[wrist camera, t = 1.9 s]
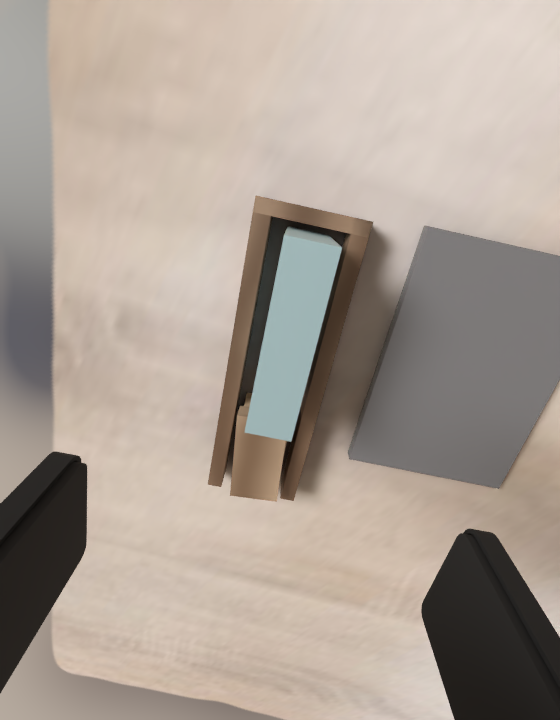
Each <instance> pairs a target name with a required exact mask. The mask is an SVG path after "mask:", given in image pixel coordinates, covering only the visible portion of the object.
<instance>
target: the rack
mask: <svg viewBox="0 0 560 720" xmlns="http://www.w3.org/2000/svg"><path fill="white" fill-rule="evenodd" d="M273 217H278V218H282V219H287V220H291V221H296V222H300V223H305V224H309V225H314V226H318V227H322V228H327V229H331V230H336V231H340V232H345V233H346V235H345V239H344V243H343V246H342V250H341V254H340V258H339V262H338V265H337V269H336V273H335V277H334V281H333V285H332V288H331V292H330V296H329V300H328V304H327V307H326V311H325V315H324V319H323V323H322V327H321V330H320V334H319V338H318V342H317V346H316V349H315V353H314V357H313V361H312V365H311V369H310V372H309V376H308V380H307V384H306V388H305V391H304V395H303V399H302V403H301V407H300V410H299V414H298V418H297V422H296V426H295V430H294V433H293V437H292V441H291V445H290V449H289V452H288V456H287V460H286V464H285V468H284V472H283V475H282V479H281V496H280V498H281V499H287V500H292V501H294V497H295V494H296V490H297V487H298V483H299V480H300V476H301V473H302V469H303V466H304V462H305V459H306V455H307V452H308V448H309V445H310V441H311V438H312V434H313V431H314V427H315V424H316V420H317V417H318V413H319V410H320V406H321V403H322V399H323V396H324V392H325V389H326V385H327V382H328V378H329V375H330V371H331V368H332V364H333V361H334V357H335V354H336V350H337V347H338V343H339V340H340V336H341V333H342V329H343V326H344V322H345V319H346V315H347V312H348V308H349V305H350V301H351V298H352V294H353V291H354V287H355V284H356V280H357V277H358V273H359V270H360V266H361V263H362V259H363V256H364V252H365V249H366V245H367V242H368V238H369V235H370V231H371V228H372V224H373V222H371V221H366V220H362V219H358V218H353V217H349V216H344V215H340V214H335V213H331V212H326V211H322V210H317V209H313V208H309V207H304V206H300V205H295V204H291V203H286V202H282V201H277V200H273V199H269V198H264V197H260V196H256V197H255V203H254V209H253V215H252V221H251V227H250V233H249V239H248V245H247V251H246V257H245V263H244V269H243V275H242V281H241V287H240V293H239V299H238V305H237V311H236V317H235V323H234V330H233V336H232V342H231V348H230V354H229V360H228V366H227V372H226V378H225V384H224V390H223V396H222V402H221V408H220V414H219V420H218V426H217V432H216V438H215V444H214V450H213V456H212V462H211V468H210V474H209V480H208V484H209V485H214V486H219V487H221V486H222V482H223V478H224V474H225V471H226V466H227V461H228V455H229V450H230V445H231V439H232V434H233V429H234V423H235V418H236V412H237V407H238V402H239V396H240V391H241V386H242V380H243V375H244V369H245V364H246V359H247V353H248V348H249V343H250V337H251V332H252V326H253V321H254V316H255V310H256V305H257V300H258V294H259V289H260V283H261V278H262V273H263V267H264V262H265V257H266V251H267V246H268V240H269V235H270V230H271V224H272V219H273Z"/></svg>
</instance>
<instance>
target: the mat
mask: <svg viewBox="0 0 560 720" xmlns="http://www.w3.org/2000/svg"><path fill="white" fill-rule="evenodd" d="M559 380H560V256H557V255H553V254H548V253H544V252H540V251H535V250H531V249H526V248H522V247H517V246H513V245H509V244H504V243H500V242H495V241H491V240H486V239H482V238H477V237H473V236H469V235H464V234H460V233H455V232H451V231H446V230H442V229H438V228H433V227H429V226H424V228H423V231H422V234H421V237H420V240H419V243H418V246H417V249H416V252H415V255H414V258H413V261H412V264H411V267H410V270H409V273H408V276H407V279H406V282H405V285H404V288H403V290H402V293H401V296H400V299H399V302H398V305H397V308H396V311H395V314H394V317H393V320H392V323H391V326H390V329H389V332H388V335H387V338H386V341H385V344H384V347H383V350H382V353H381V356H380V359H379V362H378V365H377V367H376V370H375V373H374V376H373V379H372V382H371V385H370V388H369V391H368V394H367V397H366V400H365V403H364V406H363V409H362V412H361V415H360V418H359V421H358V424H357V427H356V430H355V433H354V436H353V439H352V442H351V444H350V447H349V450H348V455H349V459H352V460H357V461H362V462H367V463H372V464H377V465H382V466H387V467H392V468H397V469H402V470H407V471H412V472H417V473H422V474H427V475H432V476H437V477H442V478H448V479H453V480H458V481H463V482H468V483H473V484H478V485H483V486H488V487H493V488H498V489H499V488H500V486H501V484H502V482H503V480H504V479H505V477H506V475H507V473H508V471H509V470H510V468H511V466H512V464H513V462H514V461H515V459H516V457H517V455H518V453H519V452H520V450H521V448H522V446H523V444H524V443H525V441H526V439H527V437H528V435H529V434H530V432H531V430H532V428H533V426H534V425H535V423H536V421H537V419H538V417H539V416H540V414H541V412H542V410H543V408H544V407H545V405H546V403H547V401H548V400H549V398H550V396H551V394H552V392H553V391H554V389H555V387H556V385H557V383H558V382H559Z"/></svg>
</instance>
